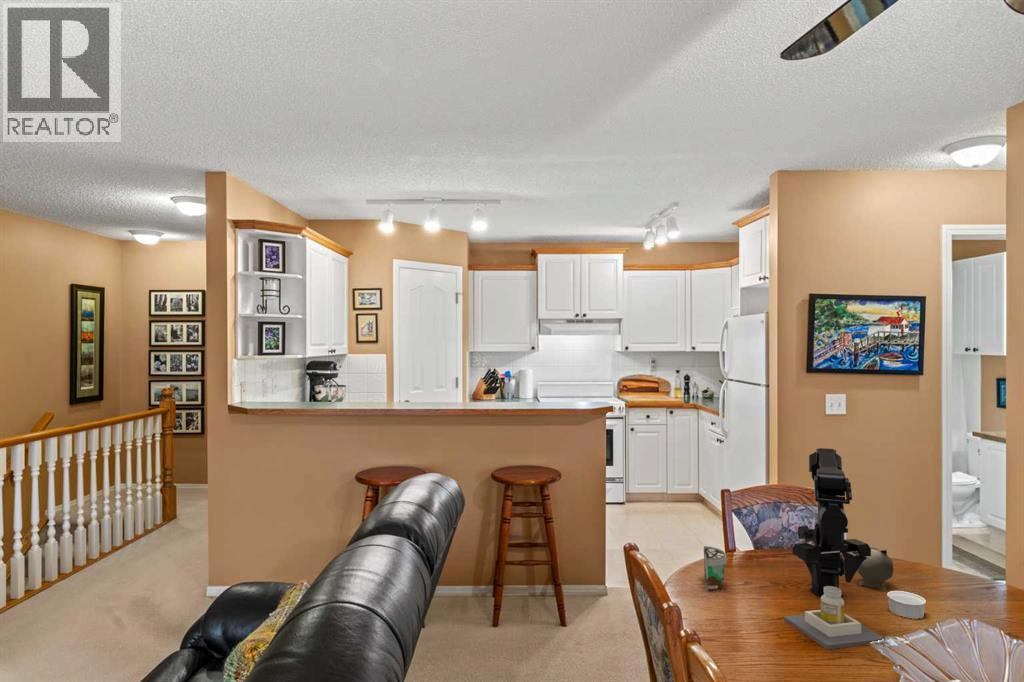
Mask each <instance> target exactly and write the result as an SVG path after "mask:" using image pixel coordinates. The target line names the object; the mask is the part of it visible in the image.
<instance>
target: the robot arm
mask: <svg viewBox="0 0 1024 682" xmlns="http://www.w3.org/2000/svg"><path fill="white" fill-rule="evenodd" d="M808 472H809V473H810V474H811V475H810V476H811V478H812V480H813V487H814V502H817V522H816V523H814V528H811V529H810V528H809V527H808V525H799V526H797V535H798V539H799V540H804V542H798V543H795V544H793V545H792V555H793V556H796V557H797V558H798V559H801V560H802V561H803V563H804V564H805V565H806V567H807V569H808V571H809V575H810V578H811V587H809V591H811V592H812V593H815V594H816V595H818V597H819V596H820V597H821V596H822V595H824V587H825V586H833V587H837V588H839V589H840V581H839V580H840V577H843V576H844V578H845V579H844V580H845V582H846V583H848V584H849V583H851V582H852V580H853V578H854V576H855V575H856V574H857V572H858V571H857V570H858V568H859V567H860V565H861V564H862V562H863V561H864V560H867V557H866V556H871V548H872V547H871V546H870V545H869V544H868V543H867V542H864V541H861V540H859V539H856V538H851V539H850V538H847V539H845V534H846V533H847V534H848V533H849V528H848V525H849V520H848V517H847V514H846V513H845V505H850V504H851V503H850V502H851V501H853V494H852V483H851V482H850V479H849V478H848V477H846V475H845V472H844V471H843V465H842V456H841V455H839V454H838V453H837V449H834V448H825V447H819V448H816V450H815V452H813V453H811V454H809V455H808ZM809 542H812V543H809ZM841 594H842V595H841V597H844V594H843V592H841Z"/></svg>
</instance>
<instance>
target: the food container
mask: <svg viewBox="0 0 1024 682" xmlns="http://www.w3.org/2000/svg"><path fill="white" fill-rule="evenodd" d="M727 558H728V557H727V554H726V553H725V551H724V550H722V549H720V548H717V547H714V546H708V545H703V569H704V571H703V572H704V576H703V577H704V579H705V580H704V579H703V580H704V583H705V582H706V583H705V586H707V587H706V590H707V592H718V591H717V590H719V591H721V590H723V589H724V584H725V582H724V581H725V571H726V570H725V568H726V566H725V565H726V564H727V563H728V559H727ZM722 588H723V589H722Z"/></svg>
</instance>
